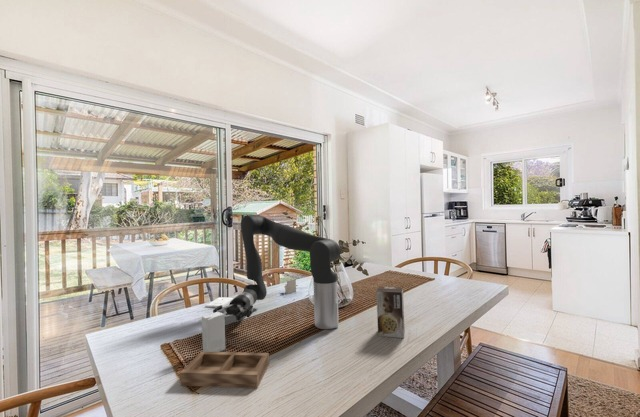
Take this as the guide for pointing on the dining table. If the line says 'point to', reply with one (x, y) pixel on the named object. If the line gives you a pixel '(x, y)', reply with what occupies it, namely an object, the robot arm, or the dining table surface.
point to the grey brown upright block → (390, 312)
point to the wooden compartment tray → (225, 370)
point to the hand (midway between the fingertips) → (225, 318)
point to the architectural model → (290, 286)
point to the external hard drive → (219, 302)
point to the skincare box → (213, 332)
